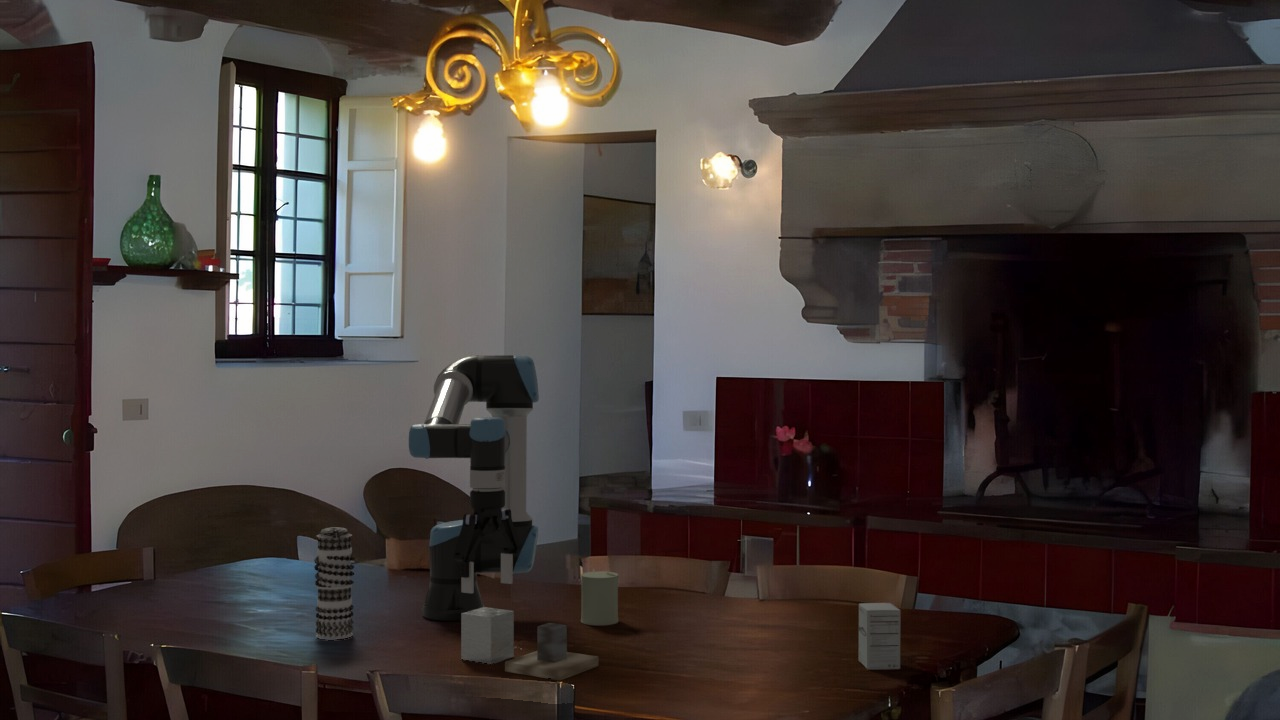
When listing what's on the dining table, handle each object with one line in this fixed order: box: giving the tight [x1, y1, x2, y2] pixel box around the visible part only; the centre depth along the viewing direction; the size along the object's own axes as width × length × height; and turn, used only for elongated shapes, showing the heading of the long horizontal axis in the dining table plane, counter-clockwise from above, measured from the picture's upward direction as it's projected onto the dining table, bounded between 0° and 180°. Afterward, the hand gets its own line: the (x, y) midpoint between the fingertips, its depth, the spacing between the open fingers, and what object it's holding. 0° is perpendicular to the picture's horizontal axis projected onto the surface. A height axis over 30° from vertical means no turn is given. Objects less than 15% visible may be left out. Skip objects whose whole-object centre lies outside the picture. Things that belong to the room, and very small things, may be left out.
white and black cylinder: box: [313, 526, 356, 639], centre depth 309 cm, size 9×9×25 cm
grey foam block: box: [460, 606, 515, 665], centre depth 288 cm, size 8×8×10 cm
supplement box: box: [858, 602, 902, 671], centre depth 283 cm, size 7×7×13 cm
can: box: [580, 570, 619, 627], centre depth 326 cm, size 9×9×12 cm
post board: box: [504, 622, 599, 682], centre depth 279 cm, size 14×14×9 cm
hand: (487, 588), depth 288 cm, fingers open, 13 cm apart
